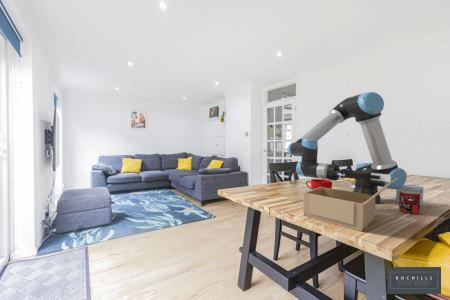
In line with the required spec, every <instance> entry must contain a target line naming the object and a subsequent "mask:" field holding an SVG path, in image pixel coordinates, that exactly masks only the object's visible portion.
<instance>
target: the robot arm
mask: <svg viewBox="0 0 450 300" xmlns="http://www.w3.org/2000/svg"><path fill="white" fill-rule="evenodd" d="M384 107H385V101H384V98H383V97H382V95H381V94H379V93H377V92H376V91H375V92H374V91H370V92H364V93H360V94H356V95H353V96H350V97H347V98H345V99H343V100H342V101H340V102H339V103H338V104H336V105H335V106H334V107H333V108H332V109H331V110H330V111H329V113H328V114H327V115H326V116H324V118H323V119H321V120H320V121H319V122H318V123H316V124H315V125H314V126H313V127H312V128H310V129H309V130H308V131H307V132H306V133H305V134H303V135H302V136H301V137H300V138H299V139H297V140H296V141H295V142H291V143H289V144H288V146H287V152H288V154H289V155H291V156H294V157H301V161H297V164H296V167H295V171H296V174H297V175H298V176H301V177H306V178H313V179H314V178H315V179H321V180H329V181H338V180H339V178H341V179H354V188H353V190H352V192H356V193H362V194H368V195H375V194H376V193H377V192H378V191H379V189H378V187H380V188H381V187H382V188H383V187H384V186H385V185H387V184H388V183H389V182H391V181H392V180H394V179H396V178H397V177H398V179H397V180H396V181H394V182H393V183H392V184H391V185H389V186H388V187H387V188H386V189H387V190H396V189H399V188H401V187H402V186H403V185H406V184H405V183H406V181H407V178H408V177H407V172H406V171H405V169H403V168H401V167H399V166H398V165H399V164H398V162H397V161H396V160H393V157H392V155H391V152H390V148H389V146H388V143H387V139H386V136H385V133H384V130H383V126H382V123H381V120H380V118H381V116H382V112H383V110H384ZM351 118H354V120H355V122H356V123H358V124H359V125H360V129H361V131H362V133H363V136H364V139H365V142H366V145H367V149H368V152H369V154H370V158H371V161H372V162H360V163H359V162H358V163H356V164H355V170H354V169H348V168H341V169H340V165H339V164H333V163H323V162H318V152H319V145H318V141H320V139H322V138H323V137H325V135H327V134H328V133H329V132H330V131H331V130H332V129H334V128H335V127H336V126H337V125H338V124H341V123H344V121H346V120H348V119H351ZM381 201H382V198H381V196H380V194H378V195H377V196H376V197H375V204H380V203H381Z"/></svg>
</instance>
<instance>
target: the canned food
mask: <svg viewBox="0 0 450 300" xmlns="http://www.w3.org/2000/svg"><path fill="white" fill-rule="evenodd" d="M420 206H421V205H420V192H418V191H414V190H405V189H401V190H400V194H399V203H398V209H399V212H400V211H401V213H403V212H404V213H403V214H407V213H409V214H408V215H413V214H417V215H419V214H420Z"/></svg>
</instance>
